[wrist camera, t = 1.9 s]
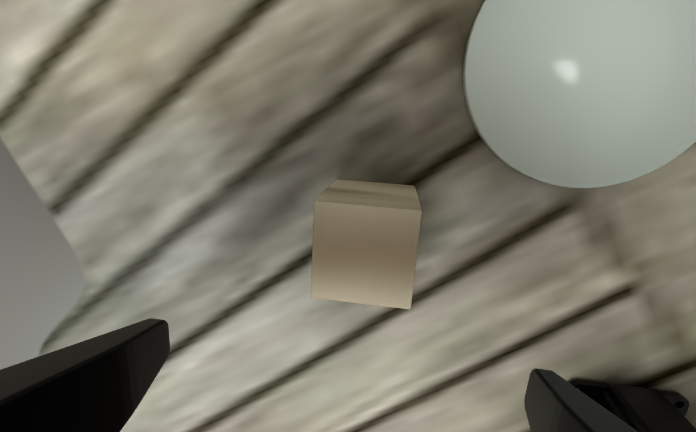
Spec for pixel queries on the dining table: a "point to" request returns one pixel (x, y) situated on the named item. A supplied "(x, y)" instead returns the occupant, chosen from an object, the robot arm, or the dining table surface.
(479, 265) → the dining table surface
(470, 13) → the dining table surface
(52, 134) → the dining table surface
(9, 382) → the robot arm
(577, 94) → the dish
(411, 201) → the birch block
